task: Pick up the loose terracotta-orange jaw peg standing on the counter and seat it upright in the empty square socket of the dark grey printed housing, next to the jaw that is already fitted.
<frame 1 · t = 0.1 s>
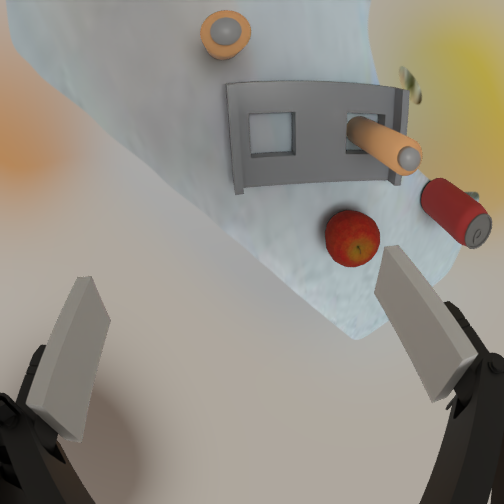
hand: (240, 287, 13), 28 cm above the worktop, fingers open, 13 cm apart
apple: (341, 223, 45), on the worktop
jaw peg: (223, 44, 30), on the worktop
housing: (316, 130, 37), on the worktop
beer can: (434, 194, 44), on the worktop
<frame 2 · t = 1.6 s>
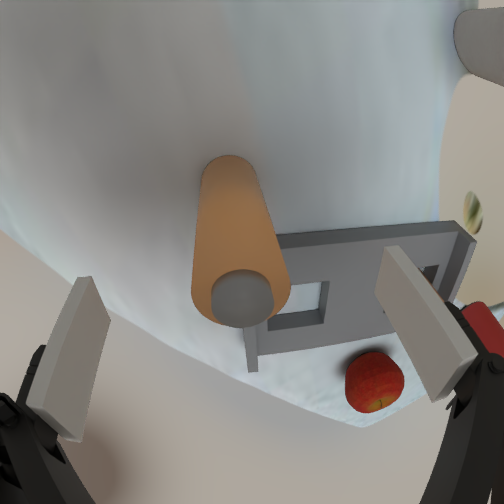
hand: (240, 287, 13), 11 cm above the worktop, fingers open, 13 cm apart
apple: (363, 358, 38), on the worktop
jaw peg: (228, 181, 22), on the worktop
coffee cup: (476, 43, 16), on the worktop
housing: (352, 284, 29), on the worktop
beer can: (466, 314, 36), on the worktop
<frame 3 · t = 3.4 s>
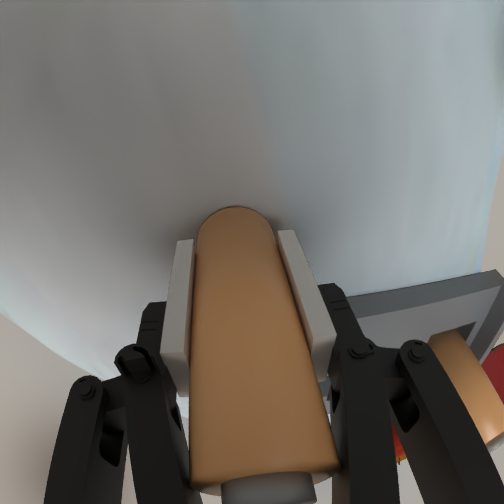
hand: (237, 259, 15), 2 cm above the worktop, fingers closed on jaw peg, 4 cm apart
jaw peg: (235, 241, 16), on the worktop, touching gripper
housing: (379, 347, 24), on the worktop
beer can: (489, 356, 30), on the worktop
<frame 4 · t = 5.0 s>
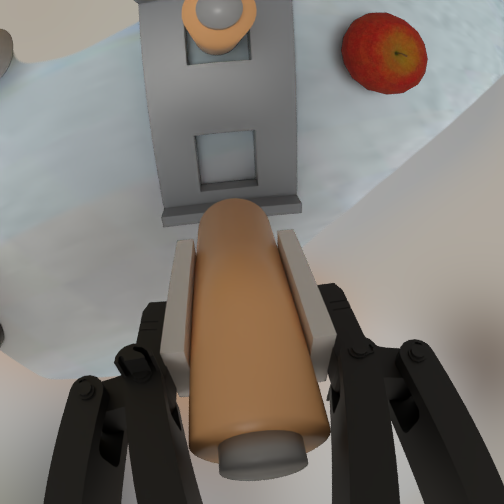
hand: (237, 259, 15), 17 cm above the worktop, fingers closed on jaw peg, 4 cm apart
apple: (362, 53, 25), on the worktop
jaw peg: (234, 231, 17), point 14 cm above the worktop, touching gripper
housing: (221, 95, 26), on the worktop
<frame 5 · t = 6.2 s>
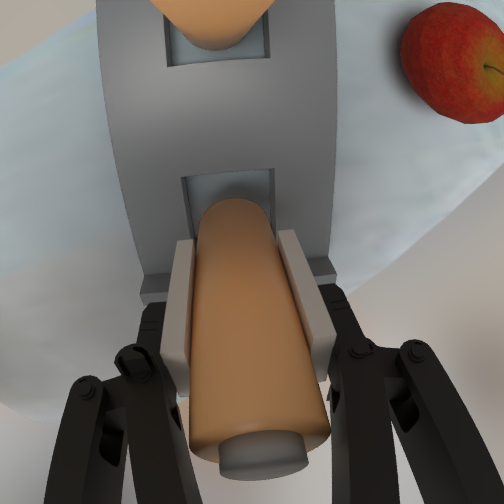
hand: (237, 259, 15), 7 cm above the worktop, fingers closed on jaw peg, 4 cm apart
apple: (422, 58, 16), on the worktop
jaw peg: (234, 230, 17), point 4 cm above the worktop, touching gripper
housing: (222, 112, 17), on the worktop
when the fingers open (4 cm above the worktop, at t = 7.1 s): jaw peg stays where it is, resting in housing.
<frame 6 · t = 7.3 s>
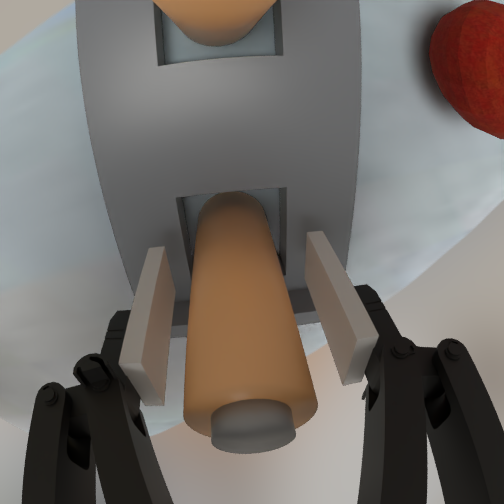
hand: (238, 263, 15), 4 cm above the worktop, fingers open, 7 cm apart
apple: (450, 61, 13), on the worktop
jaw peg: (232, 222, 18), resting in housing
housing: (224, 120, 15), on the worktop
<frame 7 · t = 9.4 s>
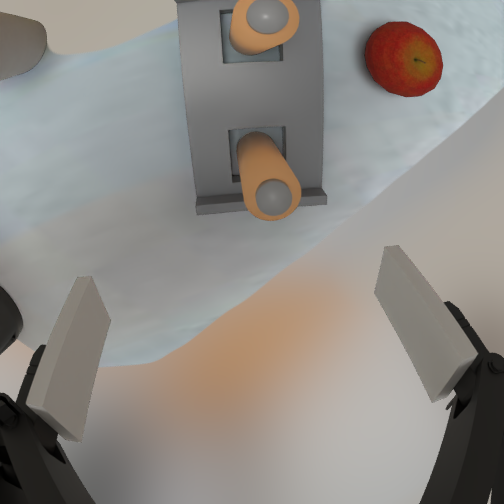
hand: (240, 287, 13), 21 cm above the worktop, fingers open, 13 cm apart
apple: (383, 58, 26), on the worktop
jaw peg: (255, 150, 31), resting in housing
coffee cup: (25, 46, 21), on the worktop
housing: (253, 93, 28), on the worktop
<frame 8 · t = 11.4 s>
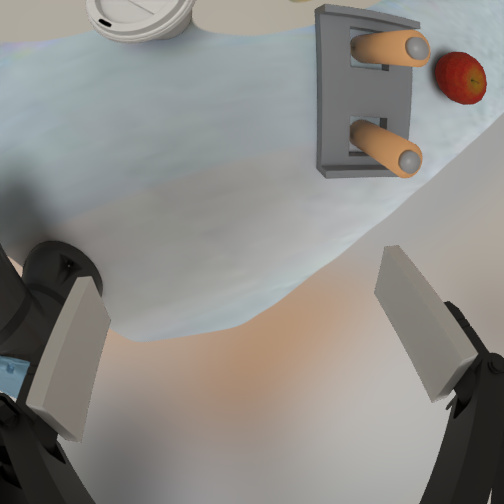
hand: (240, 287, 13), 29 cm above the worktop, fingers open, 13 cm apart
apple: (443, 74, 33), on the worktop
jaw peg: (361, 133, 38), resting in housing
coffee cup: (165, 16, 27), on the worktop
housing: (363, 91, 35), on the worktop
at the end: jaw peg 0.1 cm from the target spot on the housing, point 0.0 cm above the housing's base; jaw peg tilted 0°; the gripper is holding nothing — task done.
